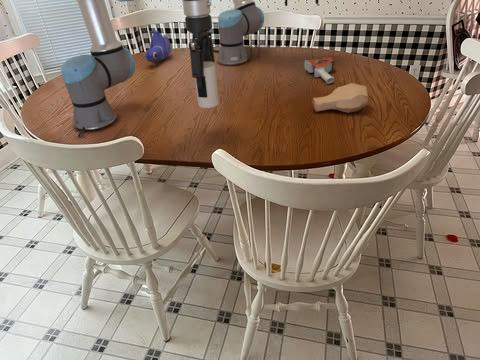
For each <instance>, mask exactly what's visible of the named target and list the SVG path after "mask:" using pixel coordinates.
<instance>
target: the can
mask: <svg viewBox="0 0 480 360" xmlns="http://www.w3.org/2000/svg"><path fill="white" fill-rule="evenodd" d="M215 65H216V62H215V63H214V62H211V61H204V76H205V80H206V89H207V98H203V97H198V90H197V82H196V78H193V80H194V84H195V92H196V99H197V106H198V107H200V108H202V109H210V108H215V107H217V106H219V104H220V100H219V99H220V98H219V89H218V80H217V79H218V78H217V69H216V67H217V66H215Z"/></svg>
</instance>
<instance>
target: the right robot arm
mask: <svg viewBox="0 0 480 360" xmlns="http://www.w3.org/2000/svg"><path fill="white" fill-rule="evenodd" d="M232 3H233V5H234V7H233V8H232V9H228V10H225V11H222V12H220V14H218V16H217V21H218V22H217V26H218V27H217V28H218V36H219V50H217V49H213V52H214V53H218V56H217V63H218V64H219V65H222V66H229V67H230V66H231V67H232V66H233V67H234V66H239V65H240V66H241V65H243V64H245V63H247V62H248V54H247V51H246V49H245V45H244V37H246V36H248V35H252V34H255V33H257V32H260V31H261V29H263V27H264V23H265V14H264V12H263V10H262V8H260V7H258V6H257V5H256V1H255V0H232ZM314 3H315V5H319V0H315V2H314ZM284 6H285V7H288V0H284ZM212 45H213V47H214V46H215V45H214V44H213V43H212Z"/></svg>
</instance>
